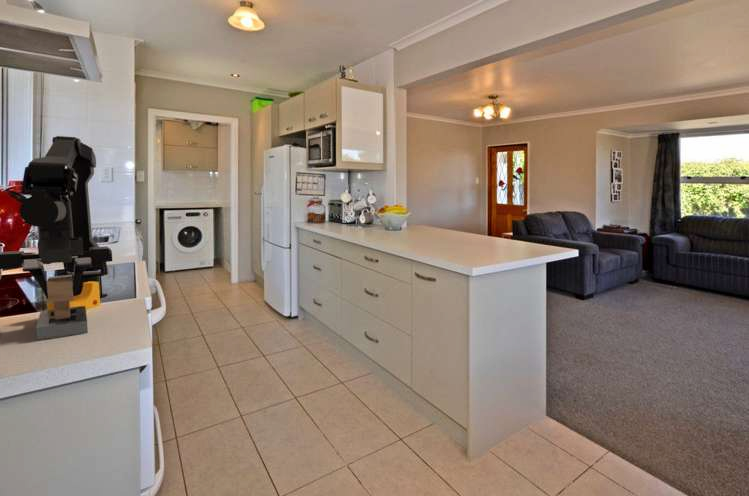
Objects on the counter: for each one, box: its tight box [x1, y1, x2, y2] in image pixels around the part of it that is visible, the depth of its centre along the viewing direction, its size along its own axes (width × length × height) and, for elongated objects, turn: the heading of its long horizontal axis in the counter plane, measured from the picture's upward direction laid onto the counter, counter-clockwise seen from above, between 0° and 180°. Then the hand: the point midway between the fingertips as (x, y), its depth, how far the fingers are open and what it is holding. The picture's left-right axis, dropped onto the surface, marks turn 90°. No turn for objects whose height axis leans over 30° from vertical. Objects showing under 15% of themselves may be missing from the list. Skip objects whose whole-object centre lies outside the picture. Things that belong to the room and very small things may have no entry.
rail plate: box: [35, 306, 89, 341], centre depth 86 cm, size 14×8×2 cm, turn 37°
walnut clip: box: [47, 275, 73, 319], centre depth 85 cm, size 8×4×8 cm, turn 37°
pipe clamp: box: [45, 281, 101, 311], centre depth 97 cm, size 12×4×6 cm, turn 173°
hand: (61, 297), depth 85 cm, fingers closed on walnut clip, 4 cm apart
